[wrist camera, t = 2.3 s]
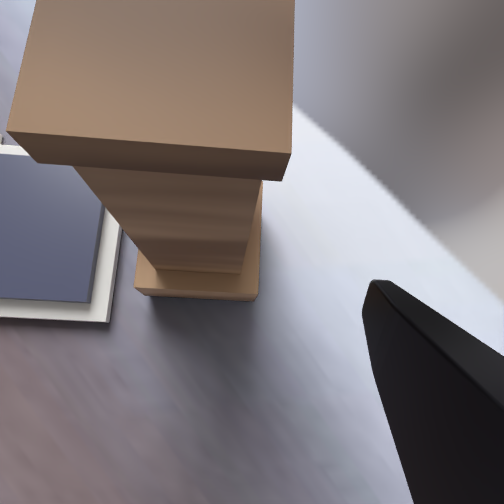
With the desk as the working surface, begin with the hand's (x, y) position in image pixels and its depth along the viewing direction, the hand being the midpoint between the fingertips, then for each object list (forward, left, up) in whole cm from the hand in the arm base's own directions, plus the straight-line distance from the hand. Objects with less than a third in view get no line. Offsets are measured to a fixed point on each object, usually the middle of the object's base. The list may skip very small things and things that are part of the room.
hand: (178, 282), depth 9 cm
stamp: (+3, -1, -10) cm, 11 cm away
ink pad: (+6, +7, -10) cm, 14 cm away
